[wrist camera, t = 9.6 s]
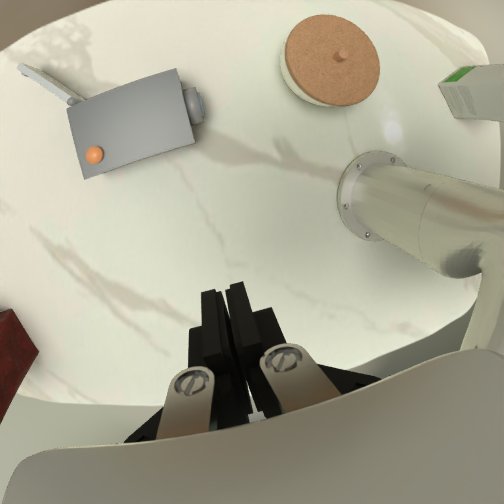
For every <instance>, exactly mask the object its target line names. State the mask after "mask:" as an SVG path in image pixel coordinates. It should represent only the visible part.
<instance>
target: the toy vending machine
mask: <svg viewBox="0 0 504 504" xmlns="http://www.w3.org/2000/svg"><path fill="white" fill-rule="evenodd" d="M38 353H39V351H38V349H37V348H36V346H35V345H34V343H33V342H32V340H31V339H30V337H29V336H28V334H27V333H26V331H25V330H24V328H23V326H22V325H21V323H20V321H19V320H18V318H17V316H16V315H15V313H14V311H13V310H12V309H9V310H6V311H4V312H1V313H0V424H1V422H2V420H3V417H4V416H5V414H6V412H7V409H8V408H9V406H10V403H11V402H12V400H13V397H14V396H15V394H16V392H17V390H18V388H19V386H20V385H21V383H22V381H23V379H24V377H25V375H26V374H27V372H28V370H29V368H30V367H31V365H32V363H33V361H34V360H35V358H36V356H37V355H38Z"/></svg>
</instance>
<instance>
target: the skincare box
mask: <svg viewBox="0 0 504 504" xmlns="http://www.w3.org/2000/svg"><path fill="white" fill-rule="evenodd" d="M438 86H439V88H440V90H441V91H442V93H443V95H444V97H445V99H446V101H447V103H448V106H449V108H450V110H451V112H452V114H453V116H454V117H457V118H471V119H481V120H491V121H499V122H504V64H495V65H479V66H467V67H461V68H459V69H458V70H457V71H455V72H454V73H453V74H451V75H450V76H449V77H447V78H446V79H445V80H443V81H442V82H440V83H439V84H438Z"/></svg>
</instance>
